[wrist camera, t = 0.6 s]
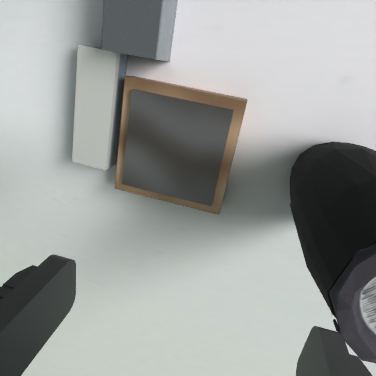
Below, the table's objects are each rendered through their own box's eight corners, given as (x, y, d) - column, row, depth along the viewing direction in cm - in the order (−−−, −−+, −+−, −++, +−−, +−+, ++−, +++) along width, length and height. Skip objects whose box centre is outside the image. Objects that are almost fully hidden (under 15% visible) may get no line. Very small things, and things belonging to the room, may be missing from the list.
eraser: (93, 47, 32) (77, 44, 29) (128, 54, 31) (116, 52, 28) (85, 155, 36) (71, 161, 33) (116, 163, 36) (105, 170, 33)
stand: (133, 76, 31) (122, 76, 29) (247, 99, 30) (246, 101, 27) (123, 181, 36) (112, 190, 33) (221, 205, 35) (218, 216, 32)
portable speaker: (280, 213, 34) (311, 373, 16) (292, 129, 30) (350, 209, 12) (363, 222, 32) (503, 411, 14) (386, 135, 29) (609, 235, 11)
